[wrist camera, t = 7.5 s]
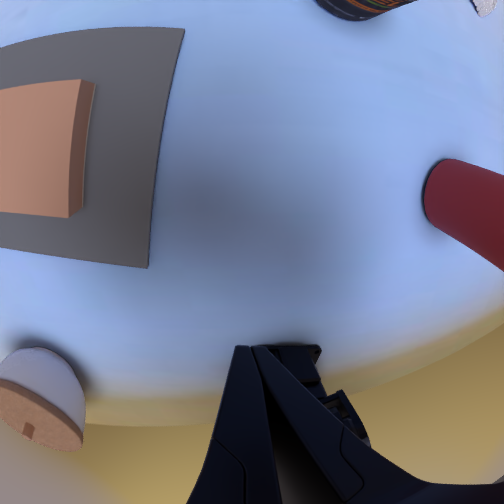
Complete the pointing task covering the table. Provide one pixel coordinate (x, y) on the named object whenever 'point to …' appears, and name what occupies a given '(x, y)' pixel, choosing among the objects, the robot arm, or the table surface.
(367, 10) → the pill bottle
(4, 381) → the lidded jar
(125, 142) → the mat
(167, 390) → the table surface
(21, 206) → the tile
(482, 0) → the pincushion
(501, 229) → the beer can
